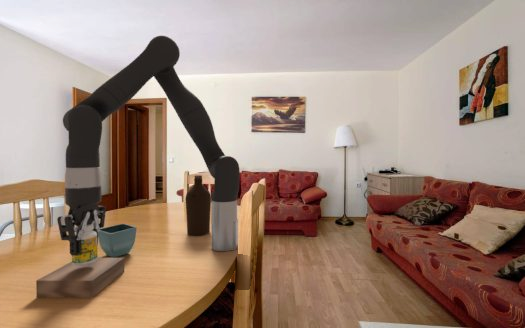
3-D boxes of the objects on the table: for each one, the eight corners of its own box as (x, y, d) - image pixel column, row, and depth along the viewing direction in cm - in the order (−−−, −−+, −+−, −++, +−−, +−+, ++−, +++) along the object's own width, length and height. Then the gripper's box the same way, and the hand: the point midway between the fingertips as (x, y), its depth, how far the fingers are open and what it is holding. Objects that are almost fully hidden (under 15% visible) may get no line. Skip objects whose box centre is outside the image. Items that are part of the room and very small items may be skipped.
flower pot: (110, 262, 76) (110, 233, 76) (96, 256, 81) (96, 229, 80) (137, 252, 83) (137, 226, 83) (123, 247, 88) (123, 223, 88)
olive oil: (213, 234, 103) (213, 175, 102) (187, 238, 99) (186, 176, 98) (208, 228, 113) (208, 174, 112) (184, 230, 108) (184, 175, 108)
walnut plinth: (124, 271, 69) (124, 257, 69) (92, 297, 56) (92, 280, 56) (79, 271, 69) (78, 257, 69) (36, 297, 56) (36, 280, 56)
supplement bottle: (97, 255, 67) (97, 221, 66) (97, 262, 62) (96, 225, 62) (73, 260, 64) (72, 224, 63) (70, 268, 59) (69, 229, 59)
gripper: (76, 188, 55) (78, 262, 56) (115, 182, 70) (116, 240, 70) (43, 188, 55) (45, 262, 56) (89, 182, 70) (90, 241, 70)
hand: (85, 250), depth 63 cm, fingers closed on supplement bottle, 5 cm apart
